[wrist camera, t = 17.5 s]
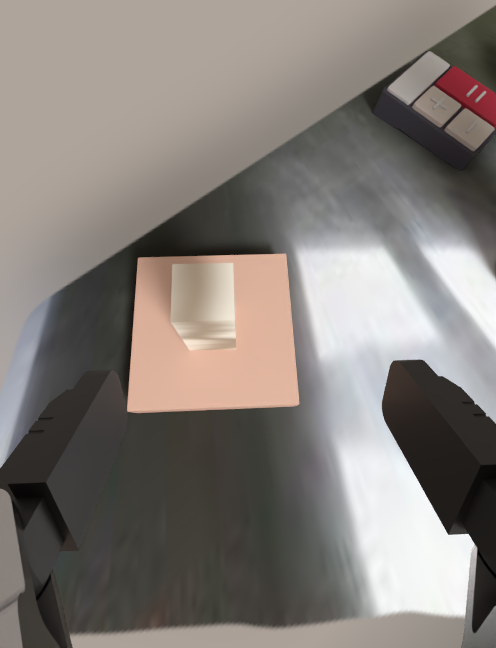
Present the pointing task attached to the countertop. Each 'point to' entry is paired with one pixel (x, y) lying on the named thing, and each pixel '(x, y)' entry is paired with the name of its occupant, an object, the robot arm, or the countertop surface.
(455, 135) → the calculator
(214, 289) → the ash block
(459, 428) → the robot arm
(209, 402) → the plinth
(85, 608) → the countertop surface
